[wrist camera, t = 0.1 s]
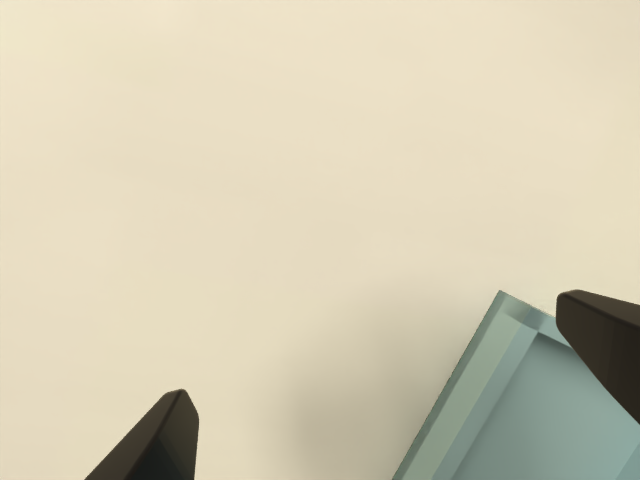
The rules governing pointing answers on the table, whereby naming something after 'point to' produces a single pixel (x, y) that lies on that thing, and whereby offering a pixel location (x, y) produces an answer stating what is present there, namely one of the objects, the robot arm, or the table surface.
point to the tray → (523, 410)
